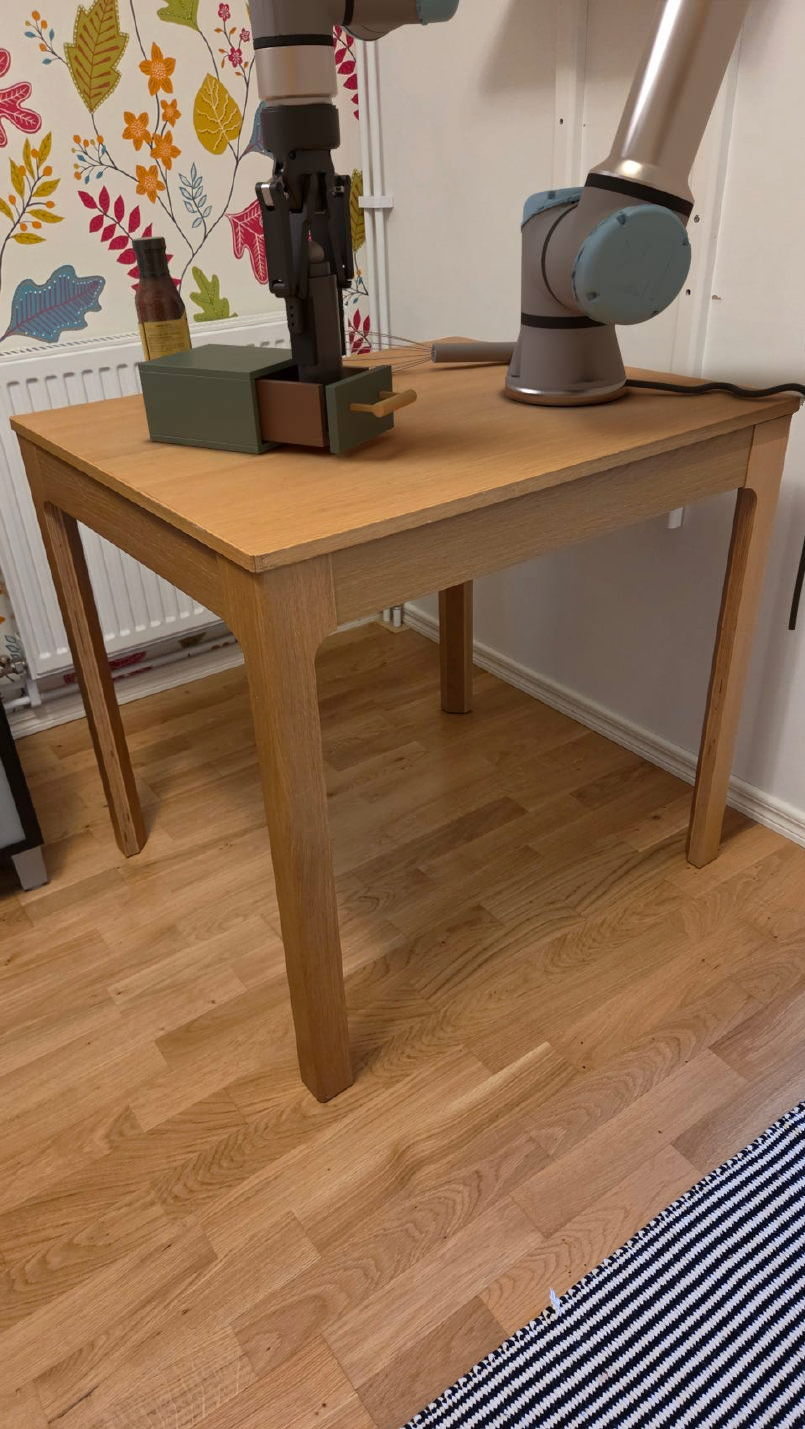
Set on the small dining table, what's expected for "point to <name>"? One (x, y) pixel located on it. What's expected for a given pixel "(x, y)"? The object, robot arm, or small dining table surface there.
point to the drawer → (329, 407)
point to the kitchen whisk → (451, 351)
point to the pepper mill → (323, 323)
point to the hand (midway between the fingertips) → (319, 359)
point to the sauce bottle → (158, 302)
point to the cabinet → (209, 396)
